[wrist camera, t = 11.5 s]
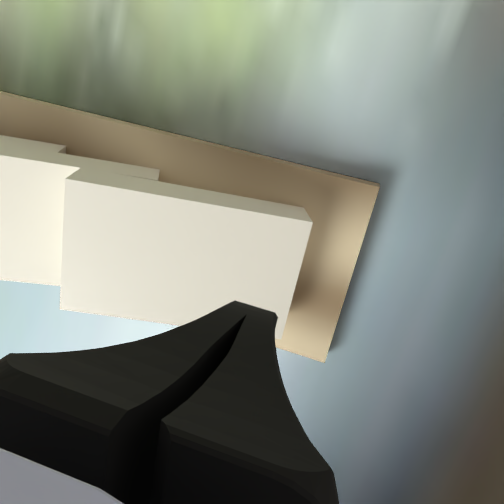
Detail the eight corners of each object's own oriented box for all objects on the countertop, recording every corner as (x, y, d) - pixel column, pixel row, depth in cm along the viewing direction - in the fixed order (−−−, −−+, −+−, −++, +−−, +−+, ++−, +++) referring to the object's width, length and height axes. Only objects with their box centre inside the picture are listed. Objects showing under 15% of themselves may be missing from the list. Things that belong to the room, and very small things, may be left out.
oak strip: (326, 353, 20) (324, 362, 19) (-98, 217, 24) (-113, 221, 23) (379, 183, 17) (379, 187, 16) (-115, 62, 21) (-133, 61, 20)
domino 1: (143, 294, 18) (-85, 271, 16) (146, 275, 20) (-61, 252, 18) (157, 179, 16) (-98, 139, 15) (159, 169, 18) (-70, 132, 16)
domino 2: (281, 339, 17) (59, 309, 16) (276, 315, 19) (74, 287, 18) (312, 222, 15) (65, 178, 14) (303, 207, 17) (81, 167, 16)
